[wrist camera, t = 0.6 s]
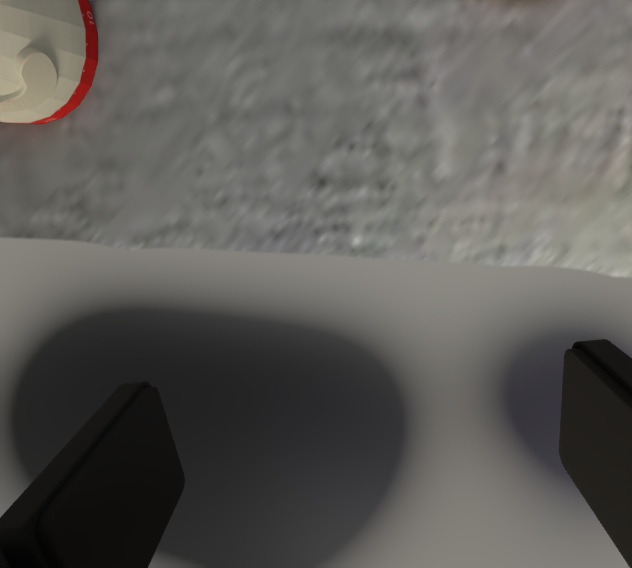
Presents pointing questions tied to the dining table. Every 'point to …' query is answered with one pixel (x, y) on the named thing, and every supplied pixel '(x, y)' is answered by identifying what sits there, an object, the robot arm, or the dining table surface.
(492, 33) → the dining table surface
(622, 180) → the dining table surface
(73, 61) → the kitchen timer
